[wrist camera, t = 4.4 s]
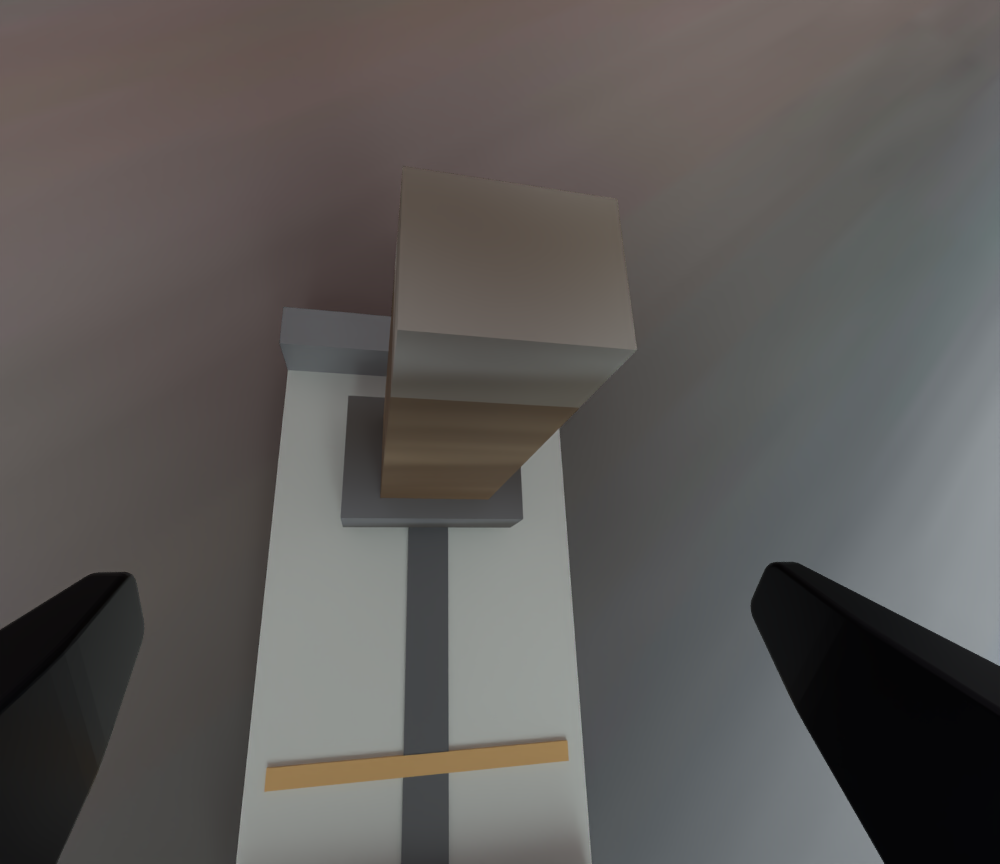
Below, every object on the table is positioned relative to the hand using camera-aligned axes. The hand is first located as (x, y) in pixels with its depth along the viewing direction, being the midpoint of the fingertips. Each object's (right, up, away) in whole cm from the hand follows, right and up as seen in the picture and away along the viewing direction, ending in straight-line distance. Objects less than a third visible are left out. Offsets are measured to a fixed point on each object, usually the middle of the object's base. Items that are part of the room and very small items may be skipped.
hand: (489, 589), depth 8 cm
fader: (-2, +1, +9) cm, 9 cm away
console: (-2, -3, +10) cm, 11 cm away
